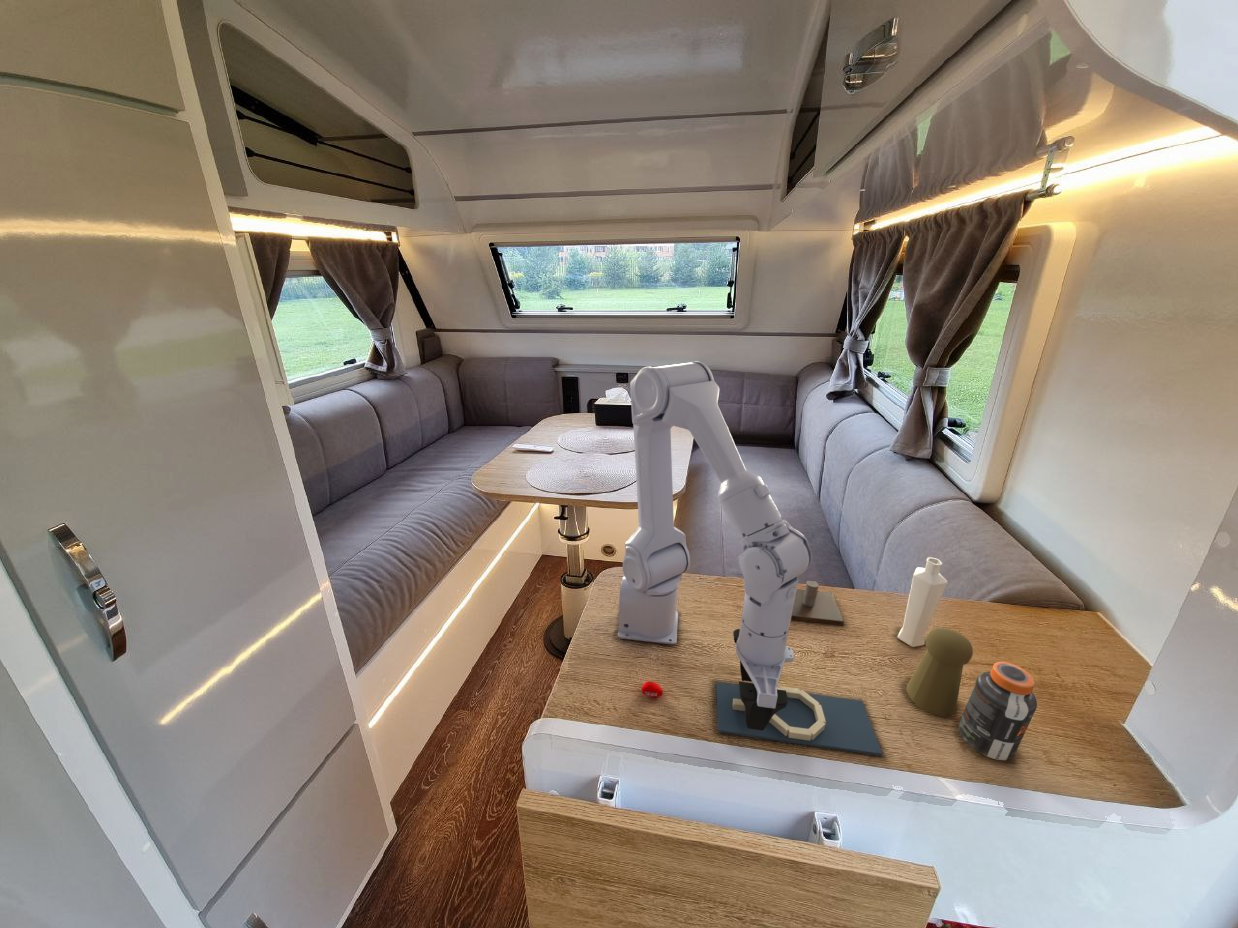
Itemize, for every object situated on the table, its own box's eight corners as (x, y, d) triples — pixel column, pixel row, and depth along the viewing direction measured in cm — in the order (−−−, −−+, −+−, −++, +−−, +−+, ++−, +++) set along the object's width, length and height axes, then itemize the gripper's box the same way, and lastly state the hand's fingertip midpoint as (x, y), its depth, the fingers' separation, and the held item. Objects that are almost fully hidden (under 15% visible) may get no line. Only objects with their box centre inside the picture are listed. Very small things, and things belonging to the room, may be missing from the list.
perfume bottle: (896, 644, 76) (919, 565, 71) (893, 626, 80) (915, 551, 75) (929, 652, 75) (955, 572, 69) (924, 634, 79) (948, 557, 73)
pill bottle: (1017, 771, 57) (1050, 701, 53) (958, 746, 60) (985, 678, 56) (1011, 733, 62) (1041, 667, 57) (956, 712, 65) (981, 647, 60)
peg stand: (759, 615, 82) (762, 592, 80) (754, 587, 90) (757, 565, 88) (843, 625, 80) (849, 601, 79) (831, 595, 88) (836, 573, 86)
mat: (718, 732, 61) (718, 730, 61) (715, 683, 69) (716, 681, 68) (882, 756, 59) (882, 753, 58) (861, 702, 66) (862, 700, 66)
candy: (640, 699, 66) (641, 689, 65) (642, 687, 68) (642, 677, 67) (662, 701, 65) (663, 691, 65) (662, 690, 67) (663, 680, 67)
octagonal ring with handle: (815, 696, 66) (819, 678, 65) (829, 743, 60) (834, 725, 58) (730, 685, 68) (733, 668, 67) (734, 730, 61) (737, 712, 60)
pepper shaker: (941, 682, 69) (963, 622, 65) (965, 718, 64) (990, 654, 60) (898, 678, 70) (917, 618, 66) (918, 713, 64) (940, 650, 60)
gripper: (811, 670, 51) (792, 756, 56) (788, 588, 65) (774, 665, 70) (745, 661, 52) (732, 747, 57) (735, 583, 66) (725, 658, 71)
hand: (752, 702), depth 64 cm, fingers open, 7 cm apart
